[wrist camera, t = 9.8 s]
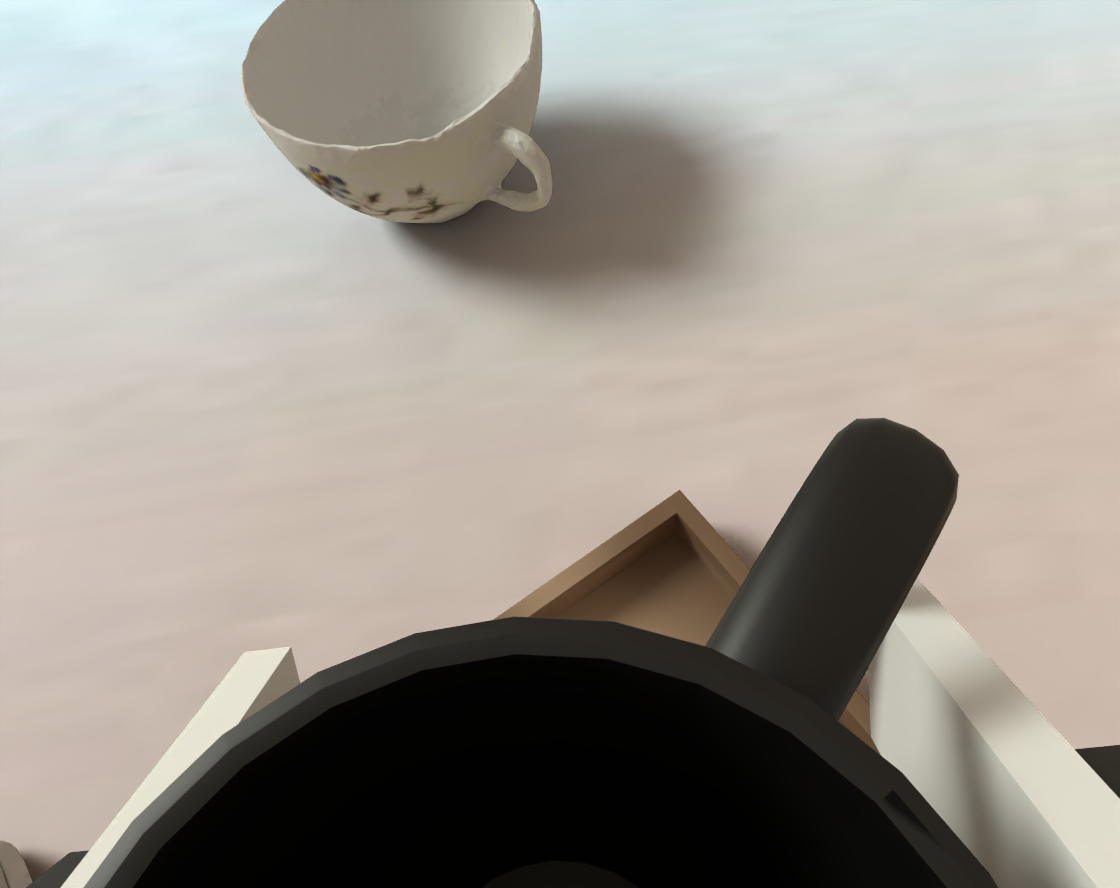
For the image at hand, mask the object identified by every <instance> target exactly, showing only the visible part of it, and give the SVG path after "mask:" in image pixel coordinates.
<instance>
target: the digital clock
mask: <svg viewBox="0 0 1120 888" xmlns="http://www.w3.org/2000/svg"><path fill="white" fill-rule="evenodd" d="M31 883H32V879H31V877H30V874H29V872H28V869H27V867H26V864H25V862H24V860H23V858H22V856H21V854H20V853H19V851H18V850H17V849H16V848H15V847H14V846H13V845H12V844H11V843H7V842H4V841H0V888H26V887H27V886H29V885H30V884H31Z"/></svg>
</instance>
